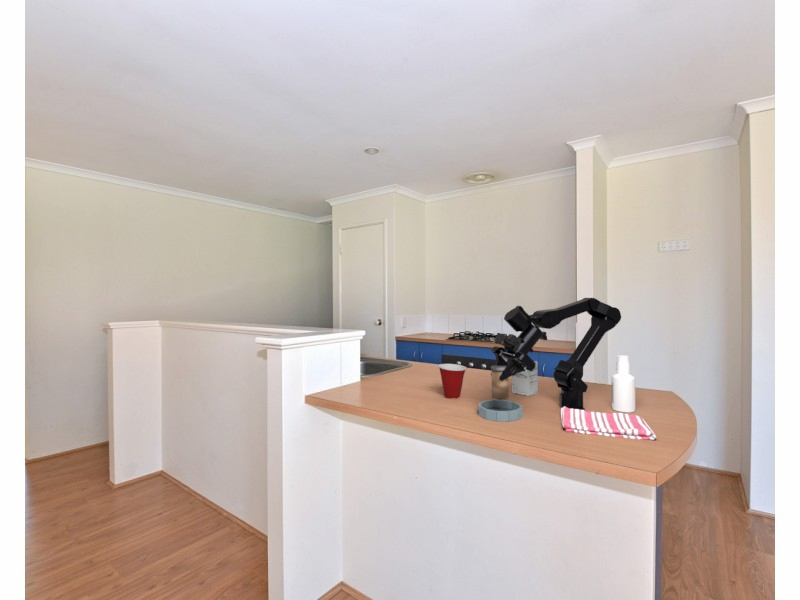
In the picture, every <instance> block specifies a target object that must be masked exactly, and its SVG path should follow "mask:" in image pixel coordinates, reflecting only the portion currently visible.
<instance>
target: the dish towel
mask: <svg viewBox="0 0 800 600" xmlns="http://www.w3.org/2000/svg"><path fill="white" fill-rule="evenodd" d="M560 421H561V425H562V427H563V429H565V432H566V433H574V432H575V433H574V434H580V433H582V435H588V434H592V435H591V436H600V435H601V437H609V436H611V438H621V437H622V438H624V439H631V440H640V439H642V441H645V440H647V441H648V440H649V441H654V440H656V439H657V436H656V434H655V432H654V431H653V430H652V428H651V427H650V426H649V425H648V424H647V422H646V421H645V419H644V418H643V417H641V416H639V415H636V414H630V413H625V412H600V411H599V412H597V411H588V410H586V409H585V410H579V409H573V408H572V409H569V408H567V407H565V406H564V407H563V408H562V407H561V408H560ZM622 438H621V439H622Z"/></svg>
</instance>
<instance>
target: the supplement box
mask: <svg viewBox="0 0 800 600" xmlns="http://www.w3.org/2000/svg"><path fill="white" fill-rule="evenodd" d="M533 361H534V362H535V365H536V367H535V368H534V370H533V371H528V370H527V369H526V367H525V368H524V369H525V371H522V372H520V373H517V374H515V375H513V376H511V393H512V394H516V393H517V395H522V396H525V395H526V397H530V395H531V396H534V395H536V394H538V392H539V391H538V389H539V388H538V378H539V377H538V376H539V375H538V374H539V371H538V370H539V369H538V366H539V365H538V363H539V362H538V361H537V360H533ZM533 394H534V395H533Z"/></svg>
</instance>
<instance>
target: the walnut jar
mask: <svg viewBox="0 0 800 600" xmlns="http://www.w3.org/2000/svg"><path fill="white" fill-rule="evenodd" d="M505 368H506V366H505V365H495V364H494V365H491V366H490V371H491V373H490V375H491V374H492V376H491V398H492V400H509V398H510V397H509V396H510V395H509V377H508V378H506V379H504V380H500V379H499V377H500V376H501V374H502V372H503V371H504V369H505Z"/></svg>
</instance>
